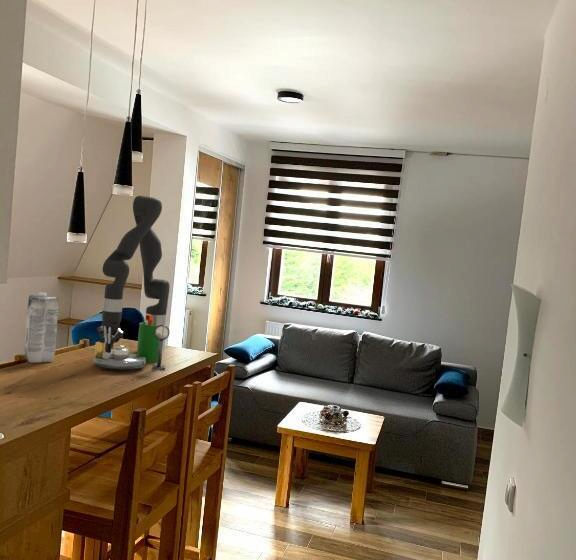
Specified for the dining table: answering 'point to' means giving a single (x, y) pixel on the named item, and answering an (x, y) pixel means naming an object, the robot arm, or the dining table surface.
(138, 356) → the turntable
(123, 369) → the turntable base
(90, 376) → the dining table surface
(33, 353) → the juice carton
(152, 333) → the green bottle
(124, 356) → the cover
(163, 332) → the metal disc on rod
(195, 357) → the dining table surface
